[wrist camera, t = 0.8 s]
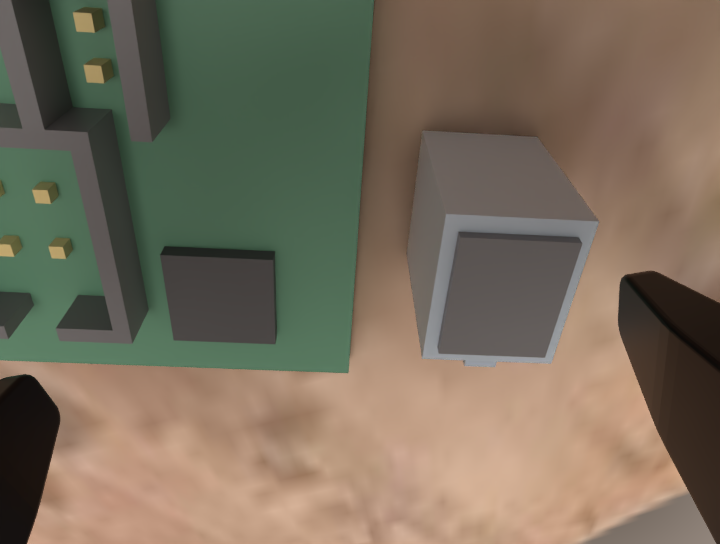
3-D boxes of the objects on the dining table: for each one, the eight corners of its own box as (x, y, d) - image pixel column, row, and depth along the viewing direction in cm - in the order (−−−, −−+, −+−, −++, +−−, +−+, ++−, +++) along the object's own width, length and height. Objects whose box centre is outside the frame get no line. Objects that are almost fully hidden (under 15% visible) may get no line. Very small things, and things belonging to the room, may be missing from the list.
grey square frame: (111, 109, 18) (87, 132, 16) (148, 309, 22) (132, 344, 21) (-119, 96, 18) (-168, 118, 16) (-35, 302, 22) (-67, 336, 20)
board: (374, -27, 17) (378, -12, 14) (348, 357, 25) (347, 408, 23) (-192, -66, 16) (-292, -57, 14) (-23, 343, 25) (-65, 394, 22)
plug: (537, 136, 20) (603, 227, 15) (503, 272, 23) (548, 387, 18) (422, 130, 20) (447, 219, 14) (404, 267, 23) (420, 382, 18)
